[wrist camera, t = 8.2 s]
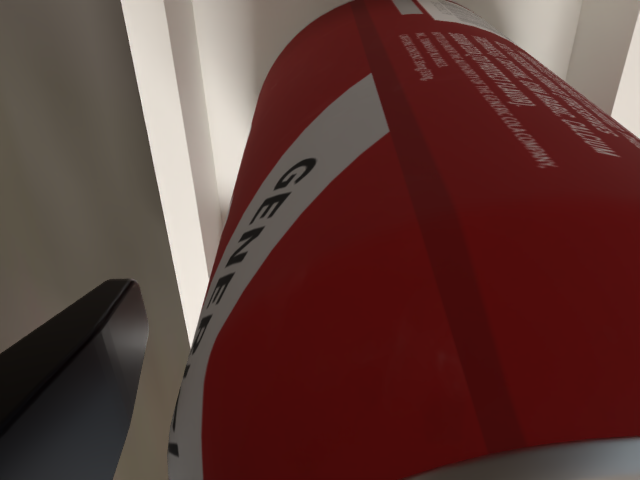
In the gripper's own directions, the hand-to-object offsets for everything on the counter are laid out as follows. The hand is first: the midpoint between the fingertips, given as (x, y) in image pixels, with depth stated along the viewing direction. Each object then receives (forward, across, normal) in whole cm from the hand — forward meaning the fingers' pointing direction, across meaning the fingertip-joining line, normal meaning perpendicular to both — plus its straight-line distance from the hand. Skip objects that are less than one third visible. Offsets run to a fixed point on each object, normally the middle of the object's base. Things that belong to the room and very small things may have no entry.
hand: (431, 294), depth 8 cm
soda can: (+7, 0, 0) cm, 7 cm away
